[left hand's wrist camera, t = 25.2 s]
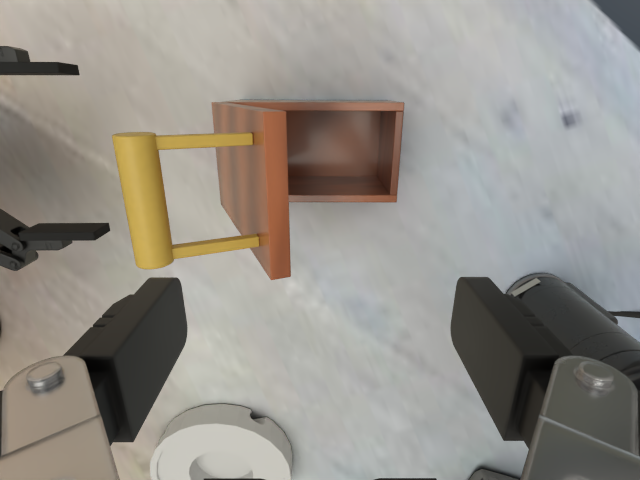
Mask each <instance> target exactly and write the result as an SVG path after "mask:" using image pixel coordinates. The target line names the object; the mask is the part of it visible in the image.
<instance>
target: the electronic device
mask: <svg viewBox="0 0 640 480" xmlns="http://www.w3.org/2000/svg"><path fill="white" fill-rule="evenodd" d="M469 480H519V479H516V478H512V477H509V476H505V475H502V474H499V473H495V472H492V471H488V470H485V469H480V470H478V471H476V472H474V474H473V475H472V476H471V478H470V479H469Z"/></svg>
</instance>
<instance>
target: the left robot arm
mask: <svg viewBox="0 0 640 480" xmlns="http://www.w3.org/2000/svg"><path fill="white" fill-rule="evenodd" d="M614 316H625V317H635V318H640V312H626V311H621V312H610V311H606V310H605V309H604V308H602V307H601V306H600V305H598V304H597V303H596V302H594V301H593V300H592V299H590V298H589V297H588V296H587V295H585V294H584V293H583V292H581V291H580V290H579V289H577V288H576V287H575V286H574V285H572V284H571V283H565V282H563V281H562V280H561V279H559V278H558V277H556V276H554V275H551V274H546V273H538V274H532V275H529V276H526V277H524V278H522V279H520V280H519V281H517V282H516V283H515V284H513V285H512V286H511V288H510V289H509V290H508V291H507V293H506V294H503V293H502V292H501V291H500V289H499V288H498V287H497V286H496V285H495V284H494V283H493V282H492V281H491V279H489V278H488V277H460V278H459V280H458V282H457V286H456V292H455V299H454V306H453V313H452V320H451V337H452V342H453V345H454V347H455V349H456V351H457V353H458V355H459V357H460V358H461V360H462V362H463V364H464V366H465V368H466V370H467V372H468V374H469V376H470V377H471V379H472V381H473V383H474V385H475V387H476V389H477V391H478V393H479V395H480V396H481V398H482V400H483V402H484V404H485V406H486V408H487V410H488V412H489V414H490V416H491V417H492V419H493V421H494V423H495V425H496V427H497V429H498V431H499V433H500V435H501V436H502V438H503V440H504V441H524V442H525V443H526V445H527V447H528V448H529V451H528V455H527V458H526V462H525V465H524V469H523V472H522V476H521V479H520V480H640V342H638V341H637V340H636V339H634V338H633V337H632V336H631V335H629V334H628V333H627V332H626V331H624V330H623V329H622V328H620V327H619V326H618V325H617V324H618V321H617V319H616V318H615V317H614ZM186 338H187V321H186V314H185V307H184V300H183V293H182V287H181V283H180V280H179V279H178V278H149V279H148V280H147V281H146V282H145V283H144V284H143V285H142V286H141V287H140V288H139V290H138V291H137V292H136V293H135V294H134V295H128V296H127V297H125V298H123V299H121V300H120V301H118V302H116V303H114V304H113V305H112V306H111V307H110V308H109V309H108V310H107V311H106V312H105V313H104V314H103V315H102V318H99V319H98V320H97V321H96V322H95V323H94V324H93V327H91V328H90V329H89V330H88V331H87V332H86V333H85V334H84V335H83V336H82V337H81V338H80V339H79V340H78V341H77V342H76V343H75V344H74V345H73V346H72V347H71V348H70V349H69V350H68V351H67V352H66V353H65V354H64V355H63V356H58V357H53V358H49V359H45V360H42V361H39V362H37V363H35V364H32V365H30V366H28V367H26V368H25V369H23V370H21V371H20V372H18V373H17V374H16V375H14V376H13V377H12V378H11V379H10V380H9V381H8V382H7V384H6V385H5V387H4V389H3V391H0V480H120V479H119V476H118V472H117V469H116V465H115V462H114V458H113V455H112V451H111V448H110V446H111V444H112V443H113V442H134V440H135V438H136V436H137V434H138V432H139V430H140V428H141V427H142V425H143V423H144V421H145V419H146V417H147V415H148V413H149V412H150V410H151V408H152V406H153V404H154V402H155V400H156V398H157V397H158V395H159V393H160V391H161V389H162V387H163V385H164V383H165V381H166V380H167V378H168V376H169V374H170V372H171V370H172V368H173V366H174V365H175V363H176V361H177V359H178V357H179V355H180V353H181V351H182V350H183V348H184V345H185V342H186ZM204 480H265V479H261V478H204ZM375 480H436V478H379V479H375Z"/></svg>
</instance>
